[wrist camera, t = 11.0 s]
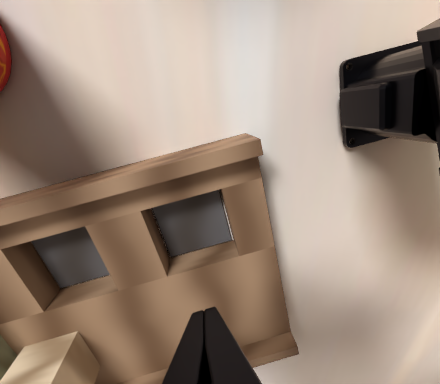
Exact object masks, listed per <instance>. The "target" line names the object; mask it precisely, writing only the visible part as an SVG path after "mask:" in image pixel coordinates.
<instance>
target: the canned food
mask: <svg viewBox="0 0 440 384" xmlns="http://www.w3.org/2000/svg"><path fill="white" fill-rule="evenodd" d="M10 73H11V53H10V47H9V44H8V41H7V38H6V35H5V33H4V31H3V29H2V27H1V25H0V92H1V91H2V90H3V88H4V87H5V85H6V84H7V82H8V79H9V76H10Z"/></svg>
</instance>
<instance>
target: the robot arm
mask: <svg viewBox="0 0 440 384" xmlns="http://www.w3.org/2000/svg"><path fill="white" fill-rule="evenodd" d="M417 37H418V41H417V42H413V43H409V44H406V45H402V46H398V47H394V48H390V49H386V50H383V51H379V52H375V53H371V54H367V55H363V56H360V57H356V58H352V59H348V60H345V61H343V62H342V63H341V65H340V88H341V92H340V109H341V125H342V126H343V143H344V145H345V146H346V147H349V148H353V147H357V146H360V145H364V144H367V143H371V142H375V141H378V140H382V139H386V138H389V137H392V138H400V139H407V140H415V141H423V142H430V143H437V146H438V153H439V159H440V19H438V20H436V21H434V22H433V23H431V24H429V25H427V26H425V27H424V28H422V29H420V30H418V31H417ZM347 64H348V65H349V70H347V69H346V66H347ZM350 139H352V142H351V143H349V141H350ZM439 174H440V168H439ZM162 384H262V383H261V381H260V380H259V378H258V376H257V375H256V373H255V371H254V370H253V368H252V366H251V365H250V363H249V361H248V360H247V358H246V356H245V355H244V353H243V351H242V350H241V348H240V346H239V345H238V343H237V341H236V340H235V338H234V336H233V335H232V333H231V331H230V330H229V328H228V326H227V325H226V323H225V321H224V320H223V318H222V316H221V315H220V313H219V311H218V310H217V308H216V307H211V308H207V309H205V311H203V310H200V311H197V312H194V313H192V315H191V317H190V319H189V321H188V324H187V326H186V328H185V331H184V333H183V335H182V338H181V340H180V342H179V345H178V347H177V349H176V352H175V354H174V356H173V359H172V361H171V363H170V366H169V368H168V370H167V373H166V375H165V377H164V379H163V382H162Z"/></svg>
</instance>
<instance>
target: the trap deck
mask: <svg viewBox="0 0 440 384" xmlns="http://www.w3.org/2000/svg"><path fill="white" fill-rule="evenodd" d="M260 155H263V151H262V146H261V140H260V139H259V138H256V137H254V136H251V135H249V134H246V133H245V134H241V135H237V136H234V137H230V138H226V139H222V140H219V141H215V142H211V143H207V144H204V145H200V146H196V147H193V148H189V149H185V150H181V151H178V152H174V153H170V154H166V155H163V156H159V157H155V158H151V159H148V160H144V161H140V162H137V163H133V164H129V165H125V166H122V167H118V168H114V169H110V170H107V171H103V172H99V173H95V174H92V175H88V176H84V177H81V178H77V179H73V180H69V181H66V182H62V183H58V184H54V185H51V186H47V187H43V188H39V189H36V190H32V191H28V192H25V193H21V194H17V195H13V196H10V197H6V198H2V199H0V380H1V379H2V378H3V376H4V375H5V373H6V372H7V370H8V369H9V368H10V366H11V365H12V363H13V362H14V361H15V359H16V358H17V356H18V355H19V353H20V352H21V351H22V349H23V348H24V347H25V346H28V345H32V344H35V343H39V342H42V341H46V340H49V339H53V338H56V337H59V336H63V335H66V334H70V333H73V332H77V331H78V332H79V334H80V335H81V337H82V338H83V340H84V341H85V343H86V344H87V346H88V348H89V349H90V351H91V352H92V354H93V355H94V357H95V358H96V360H97V361H98V363H99V364H100V369H99V372H98V375H97V378H96V380H95V383H94V384H162V382H163V379H164V377H165V375H166V373H167V370H168V368H169V366H170V363H171V361H172V359H173V356H174V354H175V352H176V349H177V347H178V345H179V342H180V340H181V338H182V335H183V333H184V331H185V328H186V326H187V324H188V321H189V319H190V317H191V315H192V313H194V312H197V311H200V310H203V311H205V309H207V308H211V307H216V308H217V310H218V311H219V313H220V315H221V316H222V318H223V320H224V321H225V323H226V325H227V326H228V328H229V330H230V331H231V333H232V335H233V336H234V338H235V340H236V341H237V343H238V345H239V346H240V348H241V350H242V351H243V353H244V355H245V356H246V358H247V360H248V361H249V363H250V365H251V366H252V368H254V367H257V366H260V365H264V364H267V363H270V362H274V361H277V360H280V359H284V358H287V357H290V356H294V355H297V354H299V352H298V346H297V344H296V342H295V340H294V338H293V335H292V333H291V330H290V325H289V320H288V314H287V309H286V304H285V298H284V293H283V288H282V282H281V277H280V272H279V267H278V261H277V256H276V251H275V245H274V240H273V235H272V229H271V224H270V219H269V213H268V208H267V203H266V198H265V192H264V187H263V182H262V176H261V171H260V166H259V160H258V156H260ZM219 189H221V193H222V197H223V201H224V205H225V208H226V212H227V216H228V220H229V224H230V228H231V232H232V235H233V239H234V240H232V241H230V240H231V236H230V232H229V229H228V225H227V221H226V217H225V214H224V210H223V206H222V202H221V198H220V195H219V191H218V190H219ZM150 208H152V209H153V212H154V214H155V217H156V219H157V222H158V225H159V227H160V230H161V232H162V235H163V237H164V240H165V243H166V245H167V248H168V250H169V253H170V256H171V257H172V258H170V257H169V255H168V252H167V250H166V247H165V245H164V242H163V239H162V237H161V234H160V232H159V229H158V227H157V224H156V221H155V219H154V216H153V214H152V211H151V209H150ZM226 241H229V242H226ZM31 242H32V243H31ZM223 242H225V243H223ZM219 243H222V244H219ZM216 244H218V245H216ZM33 245H34V246H33ZM212 245H215V246H212ZM209 246H211V247H209ZM34 247H35V248H36V249H35V248H34ZM205 247H208V248H205ZM202 248H204V249H202ZM198 249H201V250H198ZM36 250H37V251H36ZM194 250H197V251H194ZM191 251H193V252H191ZM187 252H190V253H187ZM38 253H39V254H38ZM184 253H186V254H184ZM180 254H183V255H180ZM39 255H40V256H41V257H40V256H39ZM177 255H179V256H177ZM173 256H176V257H173ZM41 258H42V259H41ZM43 261H44V262H43ZM45 264H46V265H45ZM46 266H47V267H46ZM48 269H49V270H48ZM50 272H51V273H50ZM51 274H52V275H53V276H52V275H51ZM109 274H110V275H109ZM106 275H108V276H106ZM102 276H105V277H102ZM53 277H54V278H53ZM99 277H101V278H99ZM95 278H98V279H95ZM92 279H94V280H92ZM55 280H56V281H55ZM88 280H91V281H88ZM85 281H87V282H85ZM81 282H84V283H81ZM57 283H58V284H57ZM78 283H80V284H78ZM74 284H77V285H74ZM58 285H59V286H58ZM70 285H73V286H70ZM67 286H70V287H67ZM63 287H66V288H63ZM60 288H62V289H60Z"/></svg>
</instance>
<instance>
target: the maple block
mask: <svg viewBox="0 0 440 384" xmlns="http://www.w3.org/2000/svg"><path fill="white" fill-rule="evenodd" d="M99 369H100V364H99V363H98V361H97V360H96V358H95V357H94V355H93V354H92V352H91V351H90V349H89V348H88V346H87V344H86V343H85V341H84V340H83V338H82V337H81V335H80V334H79V332H78V331H77V332H73V333H70V334H66V335H63V336H59V337H56V338H53V339H49V340H46V341H42V342H39V343H35V344H32V345H28V346H25V347H24V348H23V349H22V351H21V352H20V353H19V355H18V356H17V358H16V359H15V361H14V362H13V363H12V365H11V366H10V368H9V369H8V370H7V372H6V373H5V375H4V376H3V378H2V379H1V380H0V384H94V383H95V380H96V378H97V375H98V372H99Z"/></svg>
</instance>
